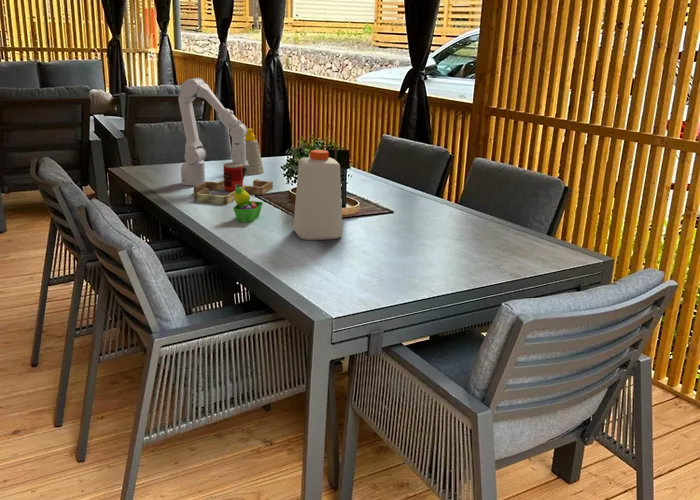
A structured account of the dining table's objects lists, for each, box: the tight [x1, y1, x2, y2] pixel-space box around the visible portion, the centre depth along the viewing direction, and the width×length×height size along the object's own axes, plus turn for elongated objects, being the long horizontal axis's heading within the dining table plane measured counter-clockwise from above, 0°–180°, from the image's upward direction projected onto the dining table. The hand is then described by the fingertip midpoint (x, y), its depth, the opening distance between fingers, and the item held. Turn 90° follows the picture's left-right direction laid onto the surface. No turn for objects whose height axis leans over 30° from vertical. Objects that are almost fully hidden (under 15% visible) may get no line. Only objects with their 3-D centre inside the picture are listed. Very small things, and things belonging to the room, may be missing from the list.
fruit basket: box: [232, 187, 264, 223], centre depth 235 cm, size 11×9×11 cm
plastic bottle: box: [292, 149, 343, 241], centre depth 218 cm, size 15×15×28 cm
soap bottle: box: [243, 128, 265, 176], centre depth 308 cm, size 12×12×20 cm
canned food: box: [223, 161, 244, 193], centre depth 274 cm, size 8×8×11 cm
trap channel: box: [193, 178, 274, 206], centre depth 270 cm, size 26×34×3 cm
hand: (239, 184), depth 281 cm, fingers closed
